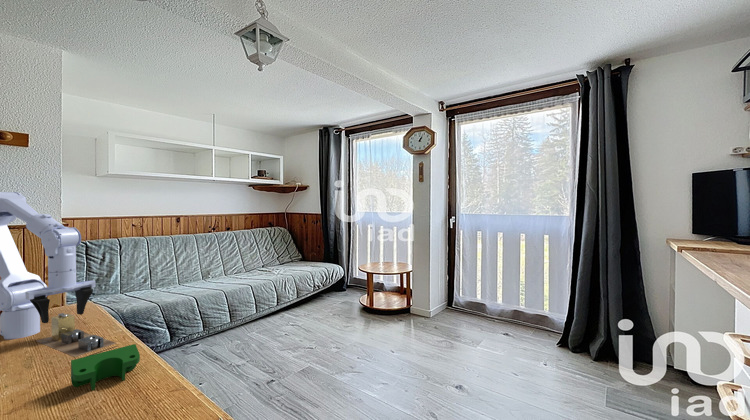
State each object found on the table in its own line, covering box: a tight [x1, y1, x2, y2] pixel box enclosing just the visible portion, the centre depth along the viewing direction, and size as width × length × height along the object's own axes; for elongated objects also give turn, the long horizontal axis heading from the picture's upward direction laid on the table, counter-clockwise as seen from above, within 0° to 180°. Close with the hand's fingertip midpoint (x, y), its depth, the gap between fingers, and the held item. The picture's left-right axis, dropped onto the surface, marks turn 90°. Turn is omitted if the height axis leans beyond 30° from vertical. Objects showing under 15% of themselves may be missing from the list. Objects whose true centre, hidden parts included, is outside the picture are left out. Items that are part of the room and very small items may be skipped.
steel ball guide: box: [61, 328, 105, 353], centre depth 87 cm, size 14×3×2 cm, turn 65°
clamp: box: [70, 343, 141, 391], centre depth 71 cm, size 12×6×9 cm, turn 131°
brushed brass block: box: [51, 312, 76, 341], centre depth 92 cm, size 4×4×7 cm
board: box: [35, 331, 118, 358], centre depth 89 cm, size 22×9×1 cm, turn 65°
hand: (63, 318), depth 92 cm, fingers open, 7 cm apart
